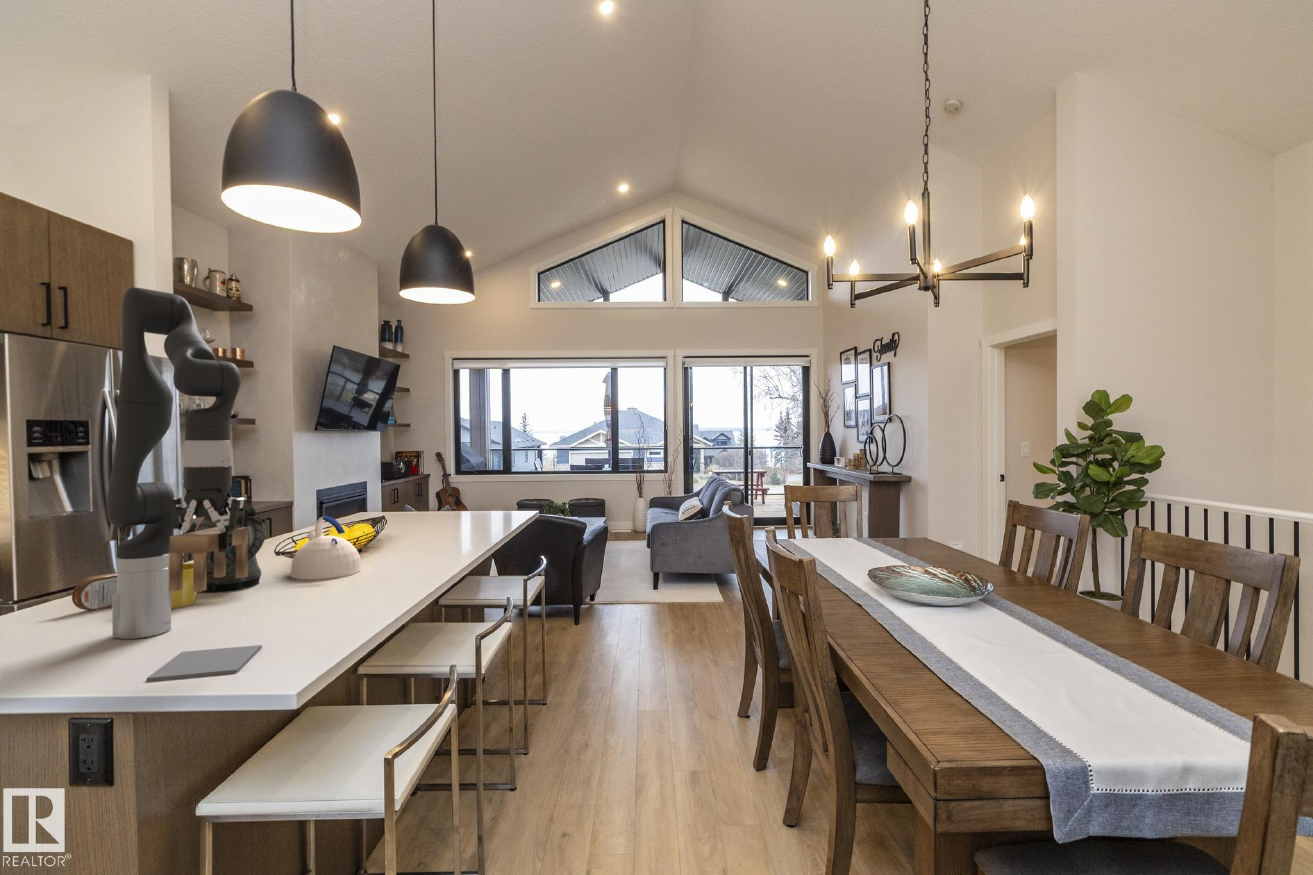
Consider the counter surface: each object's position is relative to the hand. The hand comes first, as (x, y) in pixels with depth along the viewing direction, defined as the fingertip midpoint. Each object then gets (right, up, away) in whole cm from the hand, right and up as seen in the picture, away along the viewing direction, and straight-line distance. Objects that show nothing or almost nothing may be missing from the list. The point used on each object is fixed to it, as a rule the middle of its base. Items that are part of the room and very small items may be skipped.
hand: (208, 551), depth 119 cm
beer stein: (-37, -22, +61) cm, 75 cm away
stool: (0, -1, +7) cm, 7 cm away
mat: (0, -21, 0) cm, 21 cm away
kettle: (-19, -22, +79) cm, 84 cm away
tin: (-54, -22, +40) cm, 70 cm away
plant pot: (-37, -22, +41) cm, 60 cm away
